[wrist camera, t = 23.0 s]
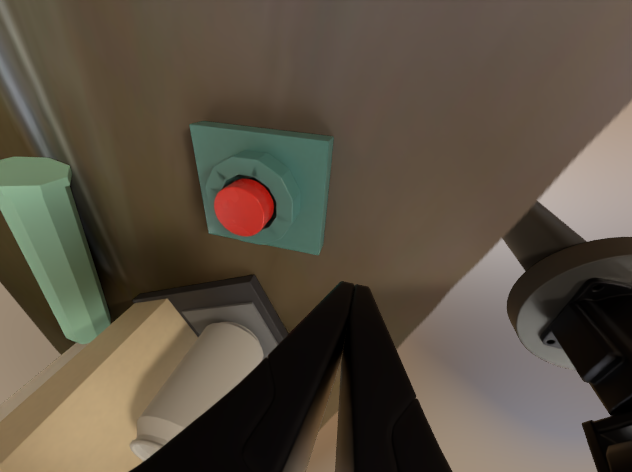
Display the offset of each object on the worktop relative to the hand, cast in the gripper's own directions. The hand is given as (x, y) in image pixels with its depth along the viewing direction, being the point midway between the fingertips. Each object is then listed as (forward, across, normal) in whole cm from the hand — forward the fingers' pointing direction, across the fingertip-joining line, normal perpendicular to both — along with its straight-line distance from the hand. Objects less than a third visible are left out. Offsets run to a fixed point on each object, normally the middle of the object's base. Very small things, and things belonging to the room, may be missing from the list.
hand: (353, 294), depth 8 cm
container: (+13, +32, +15) cm, 38 cm away
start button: (+9, +8, +2) cm, 13 cm away
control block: (+13, +8, +2) cm, 15 cm away
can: (+11, +12, +21) cm, 27 cm away
